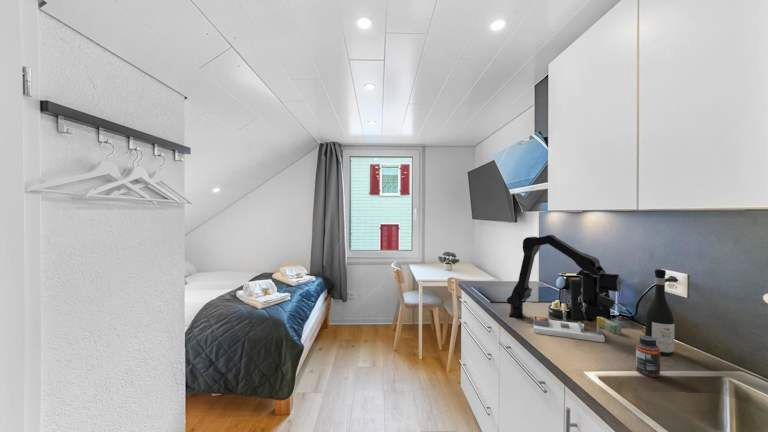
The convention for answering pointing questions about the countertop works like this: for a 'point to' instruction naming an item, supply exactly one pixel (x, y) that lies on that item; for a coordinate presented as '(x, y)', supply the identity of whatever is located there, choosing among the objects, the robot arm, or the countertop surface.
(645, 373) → the supplement bottle
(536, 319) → the push button
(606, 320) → the medication box
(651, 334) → the wine bottle
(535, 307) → the countertop surface
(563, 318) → the toggle lever
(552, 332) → the control panel
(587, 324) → the paddle
